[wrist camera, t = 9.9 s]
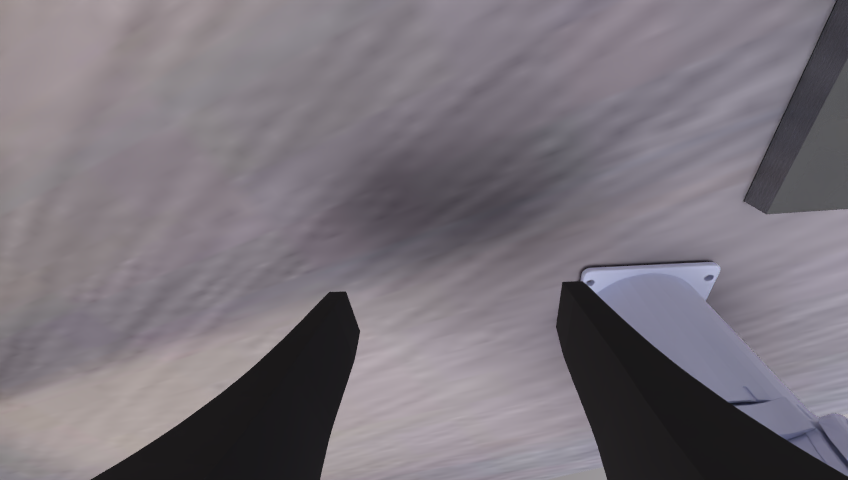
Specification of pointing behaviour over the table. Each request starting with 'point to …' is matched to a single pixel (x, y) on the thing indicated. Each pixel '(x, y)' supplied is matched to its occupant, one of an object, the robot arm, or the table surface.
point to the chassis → (811, 134)
